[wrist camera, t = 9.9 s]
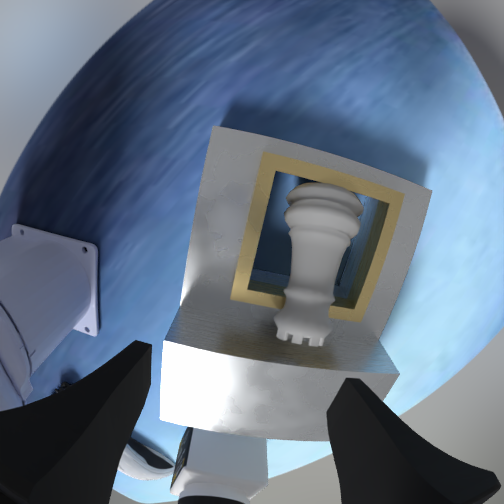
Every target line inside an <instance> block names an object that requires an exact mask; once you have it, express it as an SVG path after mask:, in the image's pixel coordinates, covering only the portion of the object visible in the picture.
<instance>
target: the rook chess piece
mask: <svg viewBox="0 0 504 504" xmlns="http://www.w3.org/2000/svg"><path fill="white" fill-rule="evenodd" d="M286 200H287V202H288V204H289V205H290V207H288V208H287V210H286V211H285V212H284V216H285V221H286V223H287V224H288V226H289V228H290V229H291V230H290V231H289V233H288V234H289V235H290V237H291V241H292V260H291V273H290V278H289V283H288V286H287V287H286V288H285V289H284V290H283V291H284V293H285V295H286V302H285V305H284V307H283V308H282V309H281V310H280V311H279V312H278V313H277V314H276V315H275V316H274V317H273V319H274V321H275V323H276V325H277V327H278V331H277V335H276V337H278V338H279V339H281V340H287V339H288V338H292V337H293V338H292V342H291V343H296V344H302V340H305V341H306V340H307V338H310V339H309V344H308V345H309V346H316V347H318V346H323V343H324V339H325V337H326V336H327V335H328V334H329V333H330V332H331V331H332V330H334V328H333V326H332V323H331V321H330V318H329V316H328V314H329V308H330V305H331V304H332V303H333V302H334V301H335V298H334V296H333V290H334V284H335V279H336V276H337V273H338V270H339V266H340V263H341V260H342V257H343V255H344V252H345V250H346V248H347V247H348V246H350V243H351V242H350V240H351V239H352V238H353V237H354V236H356V235H357V234H358V231H359V229H360V225H361V222H360V221H359V219H358V218H357V217H358V216H359V215H361V214H363V209H364V207H363V206H362V204H361V202H360V200H359V199H358V198H357V196H356V195H355V194H354V193H353V192H351V191H349V190H347V189H346V188H343V187H340V186H337V185H333V184H328V183H319V182H313V183H304V184H301V185H299V186H296V187H295V188H294V189H293V190H292V191H290V192H289V194H288V195H287V197H286Z"/></svg>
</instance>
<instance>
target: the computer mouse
mask: <svg viewBox="0 0 504 504" xmlns="http://www.w3.org/2000/svg"><path fill="white" fill-rule="evenodd" d="M72 385H73V384H72ZM69 386H71V385H69V384H68V383H67V382H62V384H61V387H60V389H59V390H58V389H55V391H56V392H59V391H61V390H63V389H65V388H67V387H69ZM174 469H175V464H174V463H173V462H172V461H171V460H169V459H168V458H167V457H165V456H164V455H162V454H161V453H159V452H157V451H155V450H153V449H151V448H149V447H147V446H145V445H143V444H141V443H139V442H137V441H136V440H134V439H132V438H131V437H130V438H129V440H128V442H127V445H126V447H125V449H124V451H123V454H122V457H121V459H120V463H119V466H118V470H120V471H121V472H123V473H124V474H126V475H128V476H130V477H133V478H136V479H139V480H157V479H161V478H164V477H167V476H169V475H171V474H173V473H174Z"/></svg>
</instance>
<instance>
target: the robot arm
mask: <svg viewBox="0 0 504 504" xmlns="http://www.w3.org/2000/svg"><path fill="white" fill-rule="evenodd" d="M23 231H24V233H23ZM85 247H86V248H87V252H86V251H85ZM97 268H98V249H97V247H96V246H95V245H94V244H92V243H88V242H84V241H80V240H76V239H72V238H68V237H65V236H61V235H57V234H53V233H49V232H46V231H42V230H38V229H35V228H31V227H28V226H24V225H20V224H14V225H13V226H12V236H11V237H9V238H6V239H4V240H2V241H0V504H109V500H110V496H111V491H112V488H113V484H114V480H115V476H116V473H117V469H118V466H119V463H120V459H121V457H122V454H123V451H124V449H125V447H126V445H127V442H128V440H129V438H130V436H131V434H132V431H133V429H134V427H135V425H136V423H137V420H138V418H139V416H140V414H141V412H142V409H143V407H144V404H145V401H146V398H147V395H148V392H149V388H150V385H151V355H152V344H148V343H144V342H141V341H137V340H135V341H134V342H132V343H131V344H130V345H128V346H127V347H126V348H125V349H123V350H122V351H121V352H120V353H118V354H117V355H116V356H114V357H113V358H112V359H110V360H109V361H108V362H106V363H105V364H104V365H102V366H101V367H99V368H98V369H97V370H95V371H94V372H92V373H90V374H89V375H87V376H86V377H84V378H83V379H81V380H79V381H78V382H76V383H74V384H73V385H71V386H69V387H67V388H65V389H63V390H61V391H59V392H57V393H55V394H53V395H51V396H48V397H46V398H43V399H41V400H38V401H35V402H33V403H30V404H27V403H26V401H25V399H26V398H27V397H28V395H29V394H30V393H31V391H32V390H33V388H32V386H31V384H30V380H29V378H30V377H31V375H32V374H33V373H34V372H35V371H36V369H37V368H38V367H39V366H40V365H41V364H42V362H43V361H44V360H45V359H46V358H47V357H48V355H49V354H50V353H51V352H52V351H53V350H54V349H55V348H56V346H57V345H58V344H59V343H60V342H61V341H62V340H63V339H64V338H65V337H66V335H67V334H68V333H69V332H70V331H71V330H72V329H75V330H78V331H81V332H83V333H86V334H89V335H92V336H97V334H98V333H99V323H98V296H97ZM87 327H88V328H89V329H88V328H87ZM326 415H327V427H328V435H329V440H330V444H331V448H332V452H333V456H334V461H335V465H336V469H337V473H338V477H339V483H340V490H341V502H342V504H483V503H484V502H485V501H487V500H488V499H489V498H490V497H492V496H493V495H494V494H495V493H496V492H497V491H498V490H499V489H500V487H501V484H500V482H499V481H498V479H497V477H496V475H495V474H494V473H493V472H491V471H488V470H484V469H481V468H478V467H475V466H472V465H470V464H467V463H465V462H462V461H460V460H458V459H456V458H454V457H452V456H450V455H448V454H447V453H445V452H443V451H441V450H440V449H438V448H436V447H435V446H433V445H432V444H430V443H429V442H427V441H426V440H425V439H423V438H422V437H421V436H420V435H418V434H417V433H416V432H414V431H413V430H412V429H411V428H410V427H409V426H408V425H407V424H405V423H404V422H403V421H402V420H401V419H400V418H399V417H398V416H397V415H396V414H395V413H394V412H393V411H392V410H391V409H390V408H389V407H388V406H387V405H386V404H385V403H384V402H383V401H382V400H381V399H380V398H379V397H378V396H377V395H376V394H375V393H374V392H373V391H372V390H371V389H370V388H369V387H368V386H367V385H366V384H365V383H364V382H363V381H362V380H361V379H360V378H345V380H344V382H343V384H342V385H341V387H340V389H339V391H338V393H337V394H336V396H335V398H334V400H333V401H332V403H331V405H330V407H329V408H328V410H327V412H326Z"/></svg>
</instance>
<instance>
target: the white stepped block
mask: <svg viewBox="0 0 504 504" xmlns="http://www.w3.org/2000/svg"><path fill="white" fill-rule="evenodd" d="M275 171H279V172H284V173H288V174H292V175H295V176H299V177H303V178H307V179H311V180H314V181H318V182H322V183H328V184H333V185H337V186H340V187H343V188H346V189H347V190H349V191H353V192H356V193H359V194H362V195H365V196H366V200H365V203H364V209H363V214H361V218H360V222H361V225H360V229H359V231H358V234H357V235H356V236H355V238H354V241H353V245H352V248H351V251H350V254H349V257H348V260H347V263H346V266H345V269H344V272H343V275H342V278H341V281H340V284H339V286H337V285H334V290H333V296H334V298H335V301H334V302H333V303H332V304H331V305H330V308H329V314H328V316H329V318H330V321H331V323H332V326H333V328H334V330H332V331H331V332H330V333H329V334H328V335H327V336H326V337H325V339H324V343H323V346H318V347H316V346H309V345H308V344H309V339H310V338H307V340H306V341H305V340H302V344H296V343H291V342H292V338H293V337H292V338H288V339H287V340H281V339H279V338H278V337H276V335H277V331H278V327H277V325H276V323H275V321H274V319H273V317H274V316H275V315H276V314H277V313H278V312H279V311H280V310H281V309H282V308H283V307H284V305H285V302H286V295H285V293H284V291H283V290H284V289H285V288H286V287H287V286H288V283H289V278H290V276H287V275H283V274H278V273H273V272H268V271H263V270H259V269H254V268H252V267H253V263H254V259H255V255H256V251H257V247H258V242H259V238H260V234H261V230H262V226H263V222H264V217H265V213H266V209H267V205H268V201H269V196H270V192H271V188H272V184H273V180H274V176H275ZM431 194H432V190H429V189H427V188H425V187H422V186H420V185H418V184H415V183H413V182H410V181H408V180H405V179H403V178H400V177H398V176H395V175H393V174H390V173H387V172H385V171H382V170H379V169H376V168H374V167H371V166H368V165H365V164H362V163H359V162H356V161H353V160H350V159H347V158H344V157H341V156H338V155H334V154H331V153H328V152H324V151H321V150H318V149H314V148H311V147H307V146H303V145H300V144H296V143H292V142H288V141H284V140H280V139H276V138H272V137H268V136H263V135H259V134H254V133H250V132H245V131H240V130H235V129H230V128H224V127H219V126H213V128H212V133H211V137H210V141H209V146H208V150H207V155H206V159H205V164H204V169H203V174H202V179H201V183H200V188H199V194H198V199H197V204H196V209H195V215H194V220H193V226H192V232H191V238H190V244H189V250H188V256H187V262H186V269H185V276H184V283H183V290H182V297H181V305H180V307H179V309H178V311H177V314H176V316H175V318H174V320H173V322H172V324H171V326H170V329H169V331H168V333H167V335H166V337H165V339H164V347H163V362H162V380H161V408H160V419H161V420H165V421H169V422H173V423H177V424H181V425H185V426H190V427H195V428H199V429H205V430H210V431H215V432H221V433H227V434H234V435H241V436H249V437H258V438H268V439H280V440H296V441H330V440H329V435H328V427H327V415H326V412H327V410H328V408H329V407H330V405H331V403H332V401H333V400H334V398H335V396H336V394H337V393H338V391H339V389H340V387H341V385H342V384H343V382H344V380H345V378H360V379H361V380H362V381H363V382H364V383H365V384H366V385H367V386H368V387H369V388H370V389H371V390H372V391H373V392H374V393H375V394H376V395H377V396H378V397H379V398H380V399H381V400H382V401H383V400H384V398H385V397H386V395H387V394H388V392H389V391H390V389H391V388H392V386H393V384H394V383H395V381H396V380H397V378H398V376H399V375H400V373H399V371H398V370H397V368H396V366H395V365H394V363H393V362H392V360H391V358H390V357H389V355H388V354H387V352H386V350H385V349H384V347H383V346H382V344H381V343H380V341H379V338H380V336H381V333H382V331H383V329H384V327H385V325H386V323H387V320H388V318H389V316H390V314H391V311H392V309H393V307H394V304H395V302H396V300H397V297H398V295H399V292H400V290H401V287H402V285H403V282H404V280H405V277H406V274H407V272H408V269H409V266H410V263H411V261H412V258H413V255H414V252H415V249H416V246H417V243H418V240H419V236H420V233H421V230H422V227H423V223H424V220H425V216H426V213H427V209H428V206H429V202H430V198H431Z"/></svg>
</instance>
